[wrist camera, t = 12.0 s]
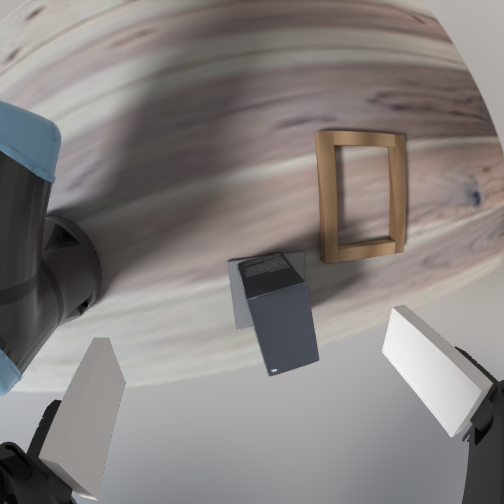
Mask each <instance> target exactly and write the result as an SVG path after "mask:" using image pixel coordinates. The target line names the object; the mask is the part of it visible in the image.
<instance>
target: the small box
mask: <svg viewBox="0 0 504 504" xmlns="http://www.w3.org/2000/svg"><path fill="white" fill-rule="evenodd" d="M237 269H238V272H239V276H240V280H241V283H242V287H243V291H244V295H245V299H246V303H247V307H248V310H249V314H250V317H251V320H252V324H253V327H254V331H255V334H256V337H257V341H258V344H259V347H260V351H261V354H262V357H263V360H264V364H265V367H266V370H267V373H268V375H269V376H274V375H277V374H280V373H283V372H287V371H290V370H293V369H296V368H299V367H302V366H306V365H308V364H311V363H314V362H317V361H319V355H318V348H317V342H316V335H315V329H314V323H313V317H312V311H311V305H310V299H309V293H308V287H307V283H306V282H305V281H304V279H303V278H302V277H301V276H300V274H299V273H298V272H297V271H296V269H295V268H294V267H293V266H292V264H291V263H290V262H289V260H288V259H287V258H286V257H285V255H284V254H283V253H282V252H279V253H275V254H271V255H267V256H263V257H260V258H256V259H253V260H249V261H245V262H242V263H238V264H237Z"/></svg>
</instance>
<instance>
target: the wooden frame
mask: <svg viewBox="0 0 504 504" xmlns="http://www.w3.org/2000/svg"><path fill="white" fill-rule="evenodd" d="M315 141H316V154H317V168H318V185H319V206H320V243H321V260H322V261H323V262H324V263H325V264H330V263H337V262H343V261H350V260H357V259H364V258H370V257H377V256H383V255H389V254H396V253H402V252H404V241H405V224H406V160H405V143H404V135H395V134H384V133H371V132H353V131H317V132H315ZM334 145H344V146H377V147H388V151H389V172H390V224H389V239H384V240H376V241H368V242H360V243H352V244H344V245H338V219H337V185H336V166H335V151H334Z"/></svg>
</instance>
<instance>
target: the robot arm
mask: <svg viewBox="0 0 504 504" xmlns="http://www.w3.org/2000/svg"><path fill="white" fill-rule="evenodd" d="M60 146H61V133H60V131H59V128H58V127H57V125H56V124H55V123H53V122H52V121H50V120H48V119H46V118H44V117H42V116H39V115H37V114H35V113H32V112H30V111H27V110H25V109H22V108H19V107H17V106H14V105H11V104H9V103H6V102H3V101H0V396H3V395H5V394H7V393H8V392H9V391H10V390H11V389H12V388H13V386H14V385H15V384H16V383H17V382H18V381H20V379H21V378H22V374H23V372H24V371H25V370H26V368H27V367H28V365H29V364H30V363H31V361H32V360H33V358H34V357H35V356H36V354H37V353H38V352H39V350H40V349H41V348H42V346H43V345H44V344H45V342H46V341H47V340H48V338H49V337H50V336H51V335H52V333H53V332H54V331H55V329H56V328H57V327H58V326H60V325H62V324H64V323H67V322H69V321H72V320H74V319H76V318H78V317H80V316H82V315H83V314H84V313H85V312H86V311H87V310H88V309H89V308H90V307H91V305H92V304H93V303H94V301H95V300H96V298H97V296H98V293H99V290H100V285H101V269H100V264H99V260H98V257H97V254H96V251H95V249H94V247H93V245H92V243H91V242H90V240H89V238H88V237H87V236H86V234H85V233H84V232H83V231H82V230H81V229H80V228H79V227H78V226H77V225H75V224H74V223H72V222H71V221H69V220H67V219H65V218H62V217H58V216H47V217H46V212H47V207H48V202H49V197H50V192H51V188H52V184H53V183H54V182H55V176H54V173H55V168H56V163H57V158H58V154H59V150H60ZM382 352H383V354H384V355H385V356H386V357H387V358H388V360H389V361H390V362H391V363H392V364H393V365H394V367H395V368H396V369H397V370H398V372H399V373H400V374H401V375H402V376H403V378H404V379H405V380H406V381H407V382H408V384H409V385H410V386H411V387H412V389H413V390H414V391H415V392H416V393H417V395H418V396H419V397H420V398H421V400H422V401H423V402H424V403H425V405H426V406H427V407H428V408H429V409H430V411H431V412H432V413H433V415H434V416H435V417H436V418H437V420H438V421H439V422H440V424H441V425H442V426H443V427H444V429H445V430H446V431H447V433H448V434H449V435H450V436H451V437H453V436H455V435H456V434H458V433H459V432H461V431H462V430H464V428H465V427H466V425H467V424H468V423H469V421H471V422H472V426H471V427H470V428H469V430H468V431H467V433H466V434H465V435H464V437H463V439H462V441H464V440H465V439H466V438H467V437H468V435H469V434H470V437H469V438H468V440H467V442H469V457H468V467H467V475H466V483H465V489H464V495H463V501H462V504H504V380H502V381H500V382H499V381H497V380H496V379H495V378H494V377H493V376H492V375H491V374H490V373H489V372H488V371H486V370H485V369H484V368H483V367H482V366H481V365H480V364H477V361H475V360H474V359H472V357H471V356H470V355H469V354H468V353H466V352H465V351H464V350H462V349H459V348H457V347H453V346H452V345H451V344H450V343H449V342H447V341H446V340H445V339H444V338H443V337H441V335H440V334H438V333H437V332H436V331H435V330H434V329H433V328H431V327H430V326H429V325H428V324H427V323H425V322H424V321H423V320H422V319H421V318H419V317H418V316H417V315H416V314H415V313H413V312H412V311H411V310H410V309H409V308H407V307H406V306H405V305H401V306H396V307H392V312H391V316H390V321H389V326H388V330H387V334H386V338H385V342H384V346H383V350H382ZM125 384H126V382H125V380H124V377H123V375H122V372H121V370H120V367H119V364H118V362H117V359H116V356H115V354H114V351H113V348H112V345H111V342H110V339H109V338H94V339H93V341H92V342H91V344H90V346H89V348H88V350H87V352H86V353H85V355H84V357H83V359H82V361H81V363H80V365H79V367H78V369H77V371H76V373H75V375H74V377H73V379H72V381H71V383H70V385H69V387H68V389H67V391H66V393H65V395H64V398H63V400H62V401H61V400H54V401H53V402H52V403H51V404H50V405H49V406H48V407H47V408H46V410H45V412H44V414H43V416H42V419H41V421H40V423H39V427H37V430H36V432H35V434H34V437H33V439H32V441H31V444H30V446H29V449H28V451H27V453H26V454H25V452H24V451H23V450H22V449H21V448H20V447H19V446H18V445H17V444H15V443H13V442H4V443H2V444H1V445H0V504H77V503H76V501H75V499H74V498H73V497H72V496H71V495H72V490H74V491H75V492H76V493H77V494H78V495H80V496H82V497H86V498H90V499H94V500H99V495H100V490H101V484H102V478H103V474H104V469H105V464H106V459H107V454H108V449H109V445H110V441H111V437H112V433H113V429H114V425H115V421H116V417H117V413H118V409H119V406H120V402H121V398H122V395H123V391H124V388H125Z"/></svg>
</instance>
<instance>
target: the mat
mask: <svg viewBox="0 0 504 504" xmlns="http://www.w3.org/2000/svg"><path fill="white" fill-rule="evenodd" d="M284 255H285V257H286V258H287V259H288V260H289V262H290V263H291V264H292V266H293V267H294V268H295V269H296V271H297V272H298V273H299V274H300V276H301V277H302V278H303V279H304V281H305V257H304V252H295V253H287V254H284ZM262 257H263V256H262ZM256 258H260V257H254V258H246V259H238V260H230V261H228V269H229V277H230V285H231V293H232V300H233V308H234V315H235V323H236V329H238V328H246V327H253V324H252V320H251V317H250V314H249V310H248V307H247V303H246V299H245V295H244V291H243V287H242V283H241V280H240V276H239V272H238V269H237V264H238V263H242V262H245V261H249V260H253V259H256Z"/></svg>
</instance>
